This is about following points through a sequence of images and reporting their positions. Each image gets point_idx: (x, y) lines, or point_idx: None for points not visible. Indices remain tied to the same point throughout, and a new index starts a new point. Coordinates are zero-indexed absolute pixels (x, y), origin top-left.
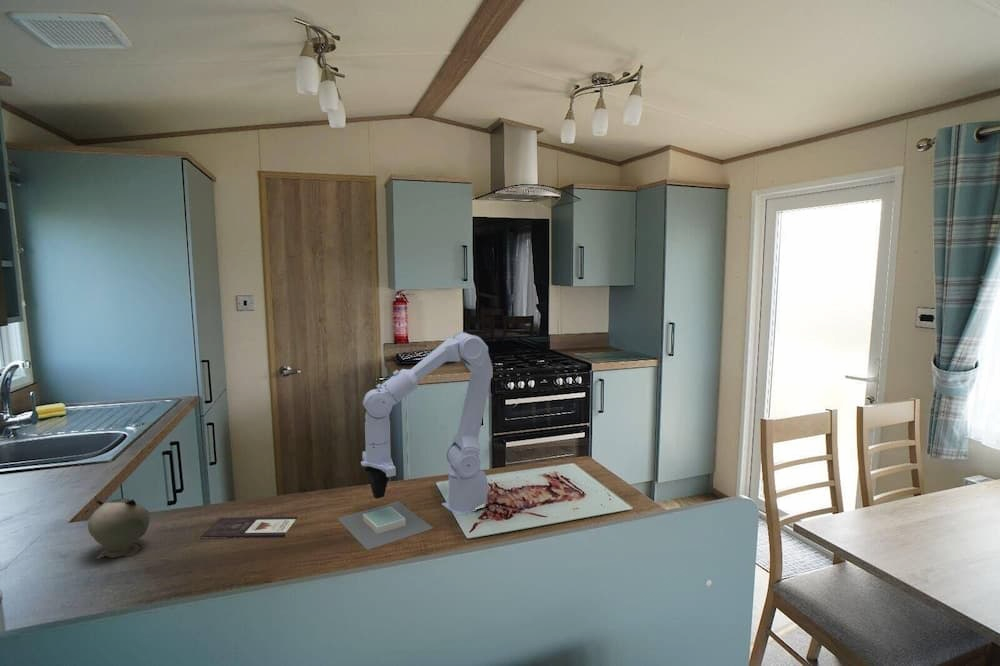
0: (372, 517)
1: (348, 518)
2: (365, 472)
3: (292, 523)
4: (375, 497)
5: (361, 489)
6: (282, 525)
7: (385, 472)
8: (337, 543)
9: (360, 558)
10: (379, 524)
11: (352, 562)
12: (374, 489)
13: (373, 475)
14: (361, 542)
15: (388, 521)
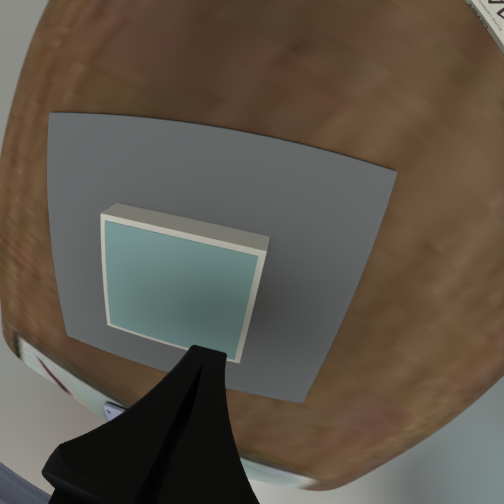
0: (192, 256)
1: (349, 206)
2: (247, 497)
3: (494, 30)
4: (193, 348)
5: (482, 377)
6: (501, 3)
7: (6, 470)
8: (183, 45)
9: (43, 78)
10: (111, 233)
11: (42, 48)
12: (162, 382)
13: (50, 455)
14: (99, 119)
15: (115, 274)
